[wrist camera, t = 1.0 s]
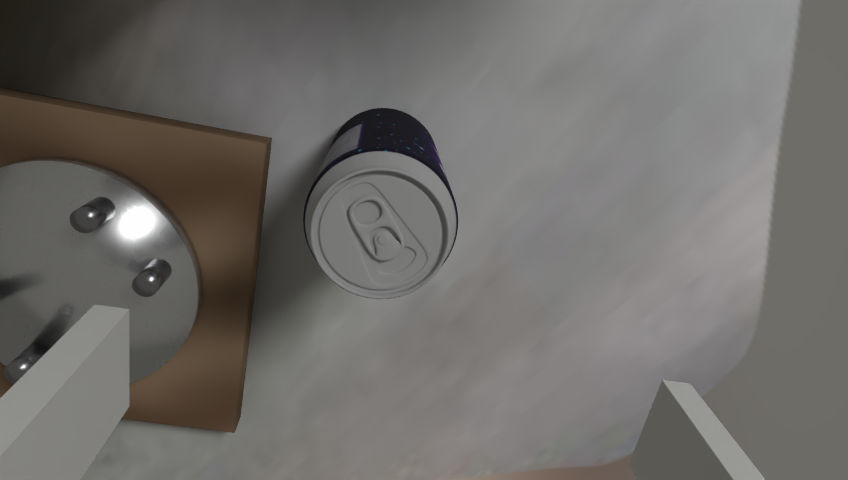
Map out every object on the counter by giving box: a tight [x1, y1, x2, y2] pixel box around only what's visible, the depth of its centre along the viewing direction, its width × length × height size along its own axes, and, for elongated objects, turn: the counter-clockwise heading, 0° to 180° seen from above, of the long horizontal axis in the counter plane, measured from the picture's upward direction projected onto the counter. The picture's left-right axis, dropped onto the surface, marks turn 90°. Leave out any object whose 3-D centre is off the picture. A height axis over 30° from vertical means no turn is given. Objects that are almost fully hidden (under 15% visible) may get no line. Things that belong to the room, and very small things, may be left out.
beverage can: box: [303, 108, 458, 299], centre depth 26 cm, size 6×6×12 cm
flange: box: [0, 157, 203, 384], centre depth 30 cm, size 13×13×3 cm
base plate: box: [0, 88, 272, 433], centre depth 32 cm, size 18×18×2 cm
